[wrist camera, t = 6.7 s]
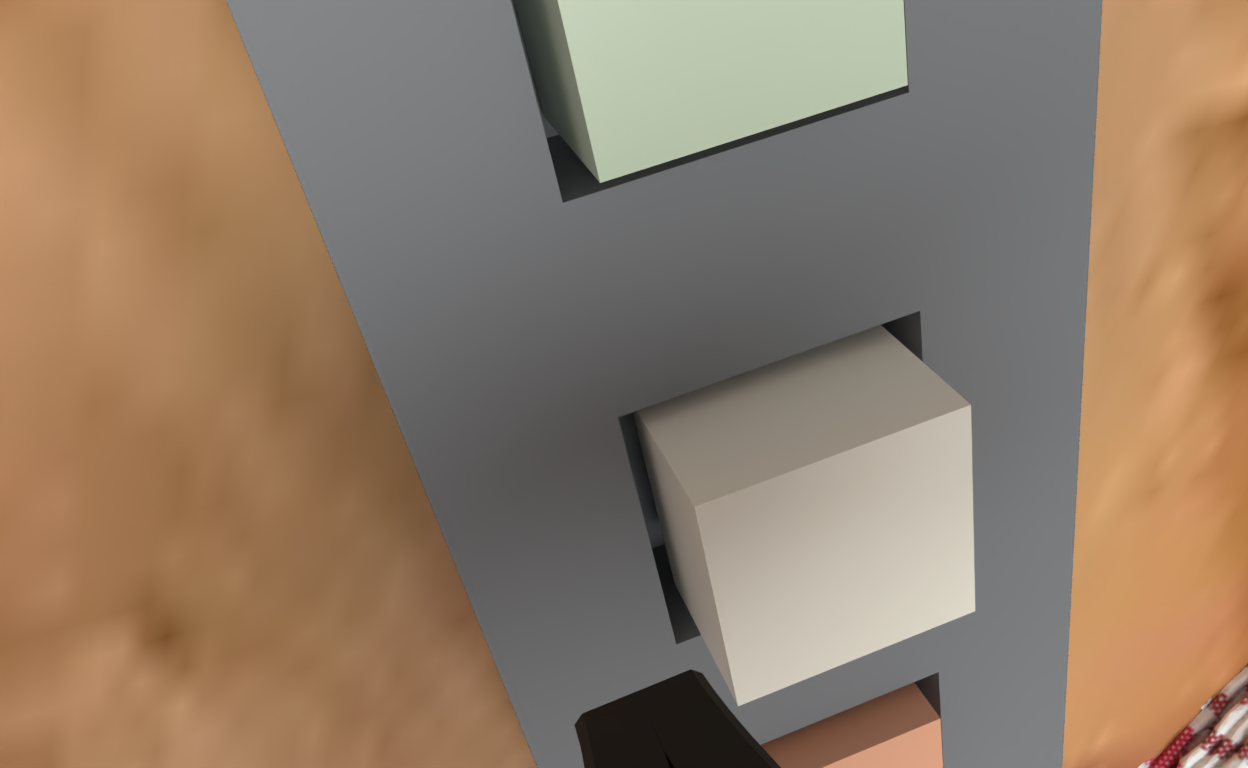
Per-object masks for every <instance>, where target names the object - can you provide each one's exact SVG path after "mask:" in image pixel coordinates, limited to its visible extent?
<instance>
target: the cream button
mask: <svg viewBox="0 0 1248 768" xmlns="http://www.w3.org/2000/svg"><path fill="white" fill-rule="evenodd" d="M633 416H634V421H635V425H636V429H637V433H638V437H639V441H640V445H641V449H642V453H643V457H644V461H645V465H646V469H647V473H648V477H649V481H650V485H651V490H652V494H653V498H654V502H655V506H656V510H657V514H658V518H659V522H660V526H661V530H662V534H663V538H664V542H665V546H666V550H667V554H668V559H669V563H670V567H671V571H672V575H673V579H674V583H675V585H676V587H677V589H678V591H679V593H680V595H681V597H682V599H683V601H684V603H685V604H686V606H687V608H688V610H689V612H690V614H691V616H692V618H693V620H694V622H695V624H696V626H697V628H698V630H699V632H700V634H701V635H702V637H703V639H704V641H705V643H706V645H707V647H708V649H709V651H710V653H711V655H712V657H713V659H714V661H715V663H716V665H717V666H718V668H719V670H720V672H721V674H722V676H723V678H724V680H725V682H726V684H727V686H728V688H729V690H730V692H731V694H732V696H733V697H734V699H735V701H736V703H737V705H738V706H740V705H743V704H745V703H748V702H750V701H753V700H755V699H758V698H760V697H763V696H765V695H768V694H770V693H773V692H775V691H778V690H780V689H783V688H785V687H788V686H790V685H793V684H795V683H798V682H800V681H803V680H805V679H808V678H810V677H813V676H815V675H818V674H820V673H823V672H825V671H828V670H830V669H833V668H835V667H837V666H840V665H842V664H845V663H847V662H850V661H852V660H855V659H857V658H860V657H862V656H865V655H867V654H870V653H872V652H875V651H877V650H880V649H882V648H885V647H887V646H890V645H892V644H895V643H897V642H900V641H902V640H905V639H907V638H910V637H912V636H915V635H917V634H920V633H922V632H925V631H927V630H930V629H932V628H935V627H937V626H940V625H942V624H945V623H947V622H950V621H952V620H955V619H957V618H960V617H962V616H965V615H967V614H969V613H972V612H974V611H975V570H974V521H973V473H972V424H971V404H970V403H969V402H967V401H966V400H965V399H964V398H963V397H962V396H961V395H960V394H958V393H957V392H956V391H955V390H954V389H953V388H952V387H950V386H949V385H948V384H947V383H946V382H945V381H944V380H943V379H941V378H940V377H939V376H938V375H937V374H936V373H935V372H933V371H932V370H931V369H930V368H929V367H928V366H927V365H926V364H924V363H923V362H922V361H921V360H920V359H919V358H918V357H916V356H915V355H914V354H913V353H912V352H911V351H910V350H909V349H907V348H906V347H905V346H904V345H903V344H902V343H901V342H900V341H898V340H897V339H896V338H895V337H894V336H893V335H892V334H890V333H889V332H888V331H887V330H886V329H885V328H884V327H883V326H881V325H878V326H876V327H873V328H870V329H867V330H864V331H861V332H859V333H856V334H853V335H850V336H847V337H844V338H842V339H839V340H836V341H833V342H830V343H827V344H825V345H822V346H819V347H816V348H813V349H810V350H808V351H805V352H802V353H799V354H796V355H793V356H791V357H788V358H785V359H782V360H779V361H776V362H774V363H771V364H768V365H765V366H762V367H759V368H757V369H754V370H751V371H748V372H745V373H742V374H740V375H737V376H734V377H731V378H728V379H725V380H723V381H720V382H717V383H714V384H711V385H708V386H706V387H703V388H700V389H697V390H694V391H691V392H689V393H686V394H683V395H680V396H677V397H674V398H672V399H669V400H666V401H663V402H660V403H657V404H655V405H652V406H649V407H646V408H643V409H640V410H638V411H635V412H633Z"/></svg>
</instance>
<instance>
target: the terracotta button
mask: <svg viewBox="0 0 1248 768" xmlns="http://www.w3.org/2000/svg"><path fill="white" fill-rule="evenodd" d="M761 746H762V747H763V749H764V750H765V751H766V752H767V753H768V754H769V755H770V756H771V757H772V758H773V759H774V761H775V762H776V763H777V764H778V765H779V766H780V767H781V768H943V757H942V738H941V719H940V717H939V716H938V714H937V713H936V712H935V710H934V709H933V707H932V706H931V705H930V703H929V702H928V700H927V699H926V698H925V696H924V695H923V694H922V692H921V691H920V689H919V688H918V687H917V685H916V684H915V683H914V682H913V683H911V684H908V685H906V686H903V687H901V688H898V689H896V690H894V691H891V692H889V693H886V694H884V695H881V696H879V697H876V698H874V699H872V700H869V701H867V702H864V703H862V704H859V705H857V706H854V707H852V708H850V709H847V710H845V711H842V712H840V713H837V714H835V715H832V716H830V717H827V718H825V719H823V720H820V721H818V722H815V723H813V724H810V725H808V726H805V727H803V728H801V729H798V730H796V731H793V732H791V733H788V734H786V735H783V736H781V737H779V738H776V739H774V740H771V741H769V742H766V743H764V744H761Z"/></svg>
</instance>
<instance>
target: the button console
mask: <svg viewBox="0 0 1248 768" xmlns="http://www.w3.org/2000/svg"><path fill="white" fill-rule="evenodd" d="M226 1H227V4H228V6H229V9H230V11H231V14H232V16H233V19H234V21H235V24H236V26H237V29H238V31H239V34H240V36H241V38H242V41H243V43H244V46H245V48H246V51H247V53H248V56H249V58H250V61H251V63H252V66H253V68H254V70H255V73H256V75H257V78H258V80H259V83H260V85H261V88H262V90H263V93H264V95H265V98H266V100H267V103H268V105H269V107H270V110H271V112H272V115H273V117H274V120H275V122H276V125H277V127H278V130H279V132H280V135H281V137H282V139H283V142H284V144H285V147H286V149H287V152H288V154H289V157H290V159H291V162H292V164H293V167H294V169H295V172H296V174H297V176H298V179H299V181H300V184H301V186H302V189H303V191H304V194H305V196H306V199H307V201H308V204H309V206H310V208H311V211H312V213H313V216H314V218H315V221H316V223H317V226H318V228H319V231H320V233H321V236H322V238H323V241H324V243H325V245H326V248H327V250H328V253H329V255H330V258H331V260H332V263H333V265H334V268H335V270H336V273H337V275H338V277H339V280H340V282H341V285H342V287H343V290H344V292H345V295H346V297H347V300H348V302H349V305H350V307H351V310H352V312H353V314H354V317H355V319H356V322H357V324H358V327H359V329H360V332H361V334H362V337H363V339H364V342H365V344H366V346H367V349H368V351H369V354H370V356H371V359H372V361H373V364H374V366H375V369H376V371H377V374H378V376H379V379H380V381H381V383H382V386H383V388H384V391H385V393H386V396H387V398H388V401H389V403H390V406H391V408H392V411H393V413H394V415H395V418H396V420H397V423H398V425H399V428H400V430H401V433H402V435H403V438H404V440H405V443H406V445H407V448H408V450H409V452H410V455H411V457H412V460H413V462H414V465H415V467H416V470H417V472H418V475H419V477H420V480H421V482H422V484H423V487H424V489H425V492H426V494H427V497H428V499H429V502H430V504H431V507H432V509H433V512H434V514H435V517H436V519H437V521H438V524H439V526H440V529H441V531H442V534H443V536H444V539H445V541H446V544H447V546H448V549H449V551H450V553H451V556H452V558H453V561H454V563H455V566H456V568H457V571H458V573H459V576H460V578H461V581H462V583H463V586H464V588H465V590H466V593H467V595H468V598H469V600H470V603H471V605H472V608H473V610H474V613H475V615H476V618H477V620H478V622H479V625H480V627H481V630H482V632H483V635H484V637H485V640H486V642H487V645H488V647H489V650H490V652H491V655H492V657H493V659H494V662H495V664H496V667H497V669H498V672H499V674H500V677H501V679H502V682H503V684H504V687H505V689H506V691H507V694H508V696H509V699H510V701H511V704H512V706H513V709H514V711H515V714H516V716H517V719H518V721H519V724H520V726H521V728H522V731H523V733H524V736H525V738H526V741H527V743H528V746H529V748H530V751H531V753H532V756H533V758H534V760H535V763H536V765H537V768H584V762H583V757H582V752H581V747H580V743H579V740H578V736H577V732H576V729H575V723H576V722H577V720H578V719H579V717H580V716H581V714H582V713H585V712H587V711H590V710H592V709H594V708H597V707H599V706H602V705H604V704H607V703H609V702H612V701H614V700H617V699H619V698H622V697H624V696H626V695H629V694H631V693H634V692H636V691H639V690H641V689H644V688H646V687H649V686H651V685H653V684H656V683H658V682H661V681H663V680H666V679H668V678H671V677H673V676H676V675H678V674H680V673H683V672H685V671H688V670H690V669H692V670H695V671H698V672H701V673H703V675H704V676H705V678H706V679H707V681H708V682H709V683H710V685H711V686H712V688H713V689H714V690H715V692H716V693H717V694H718V695H719V697H720V698H721V699H722V701H723V702H724V703H725V704H726V706H727V707H728V708H729V709H730V711H731V712H732V713H733V714H734V716H735V717H736V718H737V719H738V720H739V722H740V723H741V724H742V725H743V726H744V727H745V728H746V730H747V731H748V732H749V733H750V734H751V735H752V737H753V738H754V739H755V740H756V741H757V742H758V743H759V744H760V745H761V744H764V743H766V742H769V741H771V740H774V739H776V738H779V737H781V736H783V735H786V734H788V733H791V732H793V731H796V730H798V729H801V728H803V727H805V726H808V725H810V724H813V723H815V722H818V721H820V720H823V719H825V718H827V717H830V716H832V715H835V714H837V713H840V712H842V711H845V710H847V709H850V708H852V707H854V706H857V705H859V704H862V703H864V702H867V701H869V700H872V699H874V698H876V697H879V696H881V695H884V694H886V693H889V692H891V691H894V690H896V689H898V688H901V687H903V686H906V685H908V684H911V683H913V682H914V683H915V684H916V685H917V687H918V688H919V689H920V691H921V692H922V694H923V695H924V696H925V698H926V699H927V700H928V702H929V703H930V705H931V706H932V707H933V709H934V710H935V712H936V713H937V714H938V716H939V717H940V719H941V738H942V757H943V768H1062V761H1063V742H1064V723H1065V704H1066V685H1067V665H1068V646H1069V627H1070V608H1071V589H1072V570H1073V551H1074V532H1075V513H1076V494H1077V474H1078V455H1079V436H1080V417H1081V398H1082V379H1083V360H1084V341H1085V322H1086V303H1087V283H1088V264H1089V245H1090V226H1091V207H1092V188H1093V169H1094V150H1095V131H1096V111H1097V92H1098V73H1099V54H1100V35H1101V16H1102V0H903V1H904V20H905V39H906V59H907V78H908V85H907V86H903V87H900V88H897V89H894V90H891V91H888V92H885V93H881V94H878V95H875V96H872V97H869V98H866V99H863V100H859V101H856V102H853V103H850V104H847V105H844V106H841V107H837V108H834V109H831V110H828V111H825V112H822V113H819V114H815V115H812V116H809V117H806V118H803V119H800V120H797V121H793V122H790V123H787V124H784V125H781V126H778V127H775V128H771V129H768V130H765V131H762V132H759V133H756V134H753V135H750V136H746V137H743V138H740V139H737V140H734V141H731V142H728V143H724V144H721V145H718V146H715V147H712V148H709V149H706V150H702V151H699V152H696V153H693V154H690V155H687V156H684V157H680V158H677V159H674V160H671V161H668V162H665V163H662V164H658V165H655V166H652V167H649V168H646V169H643V170H640V171H636V172H633V173H630V174H627V175H624V176H621V177H618V178H614V179H611V180H608V181H605V182H602V183H600V182H599V181H598V180H597V179H596V178H595V176H594V175H593V174H592V173H591V172H590V170H589V169H588V168H587V167H586V166H585V164H584V163H583V162H582V161H581V160H580V158H579V157H578V156H577V155H576V154H575V152H574V151H573V150H572V149H571V148H570V147H569V145H568V144H567V143H566V142H565V141H564V139H563V138H562V137H561V136H560V135H559V133H558V132H557V131H556V130H555V129H554V127H553V126H552V125H551V124H550V123H549V121H548V120H547V119H546V118H545V117H544V114H543V110H542V106H541V102H540V98H539V94H538V90H537V86H536V83H535V79H534V75H533V71H532V67H531V63H530V59H529V55H528V51H527V47H526V43H525V39H524V35H523V32H522V28H521V24H520V20H519V16H518V12H517V8H516V4H515V0H226ZM878 325H881V326H883V327H884V328H885V329H886V330H887V331H888V332H889V333H890V334H892V335H893V336H894V337H895V338H896V339H897V340H898V341H900V342H901V343H902V344H903V345H904V346H905V347H906V348H907V349H909V350H910V351H911V352H912V353H913V354H914V355H915V356H916V357H918V358H919V359H920V360H921V361H922V362H923V363H924V364H926V365H927V366H928V367H929V368H930V369H931V370H932V371H933V372H935V373H936V374H937V375H938V376H939V377H940V378H941V379H943V380H944V381H945V382H946V383H947V384H948V385H949V386H950V387H952V388H953V389H954V390H955V391H956V392H957V393H958V394H960V395H961V396H962V397H963V398H964V399H965V400H966V401H967V402H969V403H970V404H971V424H972V473H973V521H974V570H975V611H974V612H972V613H969V614H967V615H965V616H962V617H960V618H957V619H955V620H952V621H950V622H947V623H945V624H942V625H940V626H937V627H935V628H932V629H930V630H927V631H925V632H922V633H920V634H917V635H915V636H912V637H910V638H907V639H905V640H902V641H900V642H897V643H895V644H892V645H890V646H887V647H885V648H882V649H880V650H877V651H875V652H872V653H870V654H867V655H865V656H862V657H860V658H857V659H855V660H852V661H850V662H847V663H845V664H842V665H840V666H837V667H835V668H833V669H830V670H828V671H825V672H823V673H820V674H818V675H815V676H813V677H810V678H808V679H805V680H803V681H800V682H798V683H795V684H793V685H790V686H788V687H785V688H783V689H780V690H778V691H775V692H773V693H770V694H768V695H765V696H763V697H760V698H758V699H755V700H753V701H750V702H748V703H745V704H743V705H740V706H738V705H737V703H736V701H735V699H734V697H733V696H732V694H731V692H730V690H729V688H728V686H727V684H726V682H725V680H724V678H723V676H722V674H721V672H720V670H719V668H718V666H717V665H716V663H715V661H714V659H713V657H712V655H711V653H710V651H709V649H708V647H707V645H706V643H705V641H704V639H703V637H702V635H701V634H700V632H699V630H698V628H697V626H696V624H695V622H694V620H693V618H692V616H691V614H690V612H689V610H688V608H687V606H686V604H685V603H684V601H683V599H682V597H681V595H680V593H679V591H678V589H677V587H676V585H675V583H674V579H673V575H672V571H671V567H670V563H669V559H668V554H667V550H666V546H665V542H664V538H663V534H662V530H661V526H660V522H659V518H658V514H657V510H656V506H655V502H654V498H653V494H652V490H651V485H650V481H649V477H648V473H647V469H646V465H645V461H644V457H643V453H642V449H641V445H640V441H639V437H638V433H637V429H636V425H635V421H634V416H633V412H635V411H638V410H640V409H643V408H646V407H649V406H652V405H655V404H657V403H660V402H663V401H666V400H669V399H672V398H674V397H677V396H680V395H683V394H686V393H689V392H691V391H694V390H697V389H700V388H703V387H706V386H708V385H711V384H714V383H717V382H720V381H723V380H725V379H728V378H731V377H734V376H737V375H740V374H742V373H745V372H748V371H751V370H754V369H757V368H759V367H762V366H765V365H768V364H771V363H774V362H776V361H779V360H782V359H785V358H788V357H791V356H793V355H796V354H799V353H802V352H805V351H808V350H810V349H813V348H816V347H819V346H822V345H825V344H827V343H830V342H833V341H836V340H839V339H842V338H844V337H847V336H850V335H853V334H856V333H859V332H861V331H864V330H867V329H870V328H873V327H876V326H878Z"/></svg>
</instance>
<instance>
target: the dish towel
mask: <svg viewBox="0 0 1248 768" xmlns="http://www.w3.org/2000/svg"><path fill="white" fill-rule="evenodd" d="M1211 700H1212V698H1211V699H1210V700H1209V701H1208V702H1207V704H1205V705H1203V706H1202V707H1201V709H1202V711H1201V712H1200V713H1199V714H1198V715H1197V716H1196V718H1195V719H1194V720H1193V721H1192V722H1191V723H1190V724H1189V725H1188V726H1187V727H1186V728H1185V729H1184V730H1183V731H1182V732H1181V733H1180V735H1179V736H1178V737H1177V738H1176V739H1175V740H1174V741H1173V742H1172V743H1171V744H1170V745H1169V746H1168V747H1167V748H1166V749H1165V750H1164V751H1163V752H1162V753H1161V754H1160V755H1159V756H1158V757H1157V758H1156V759H1154V758H1152V759H1151V760H1149V761H1148V762H1145V763H1143V764H1141V765H1140V766H1139V767H1138V768H1248V666H1246V667H1245V668H1244V669H1243V670H1242V671H1241V672H1240V673H1239V674H1238V675H1237V676H1236V677H1235V678H1234V679H1233V680H1231V681H1230V682H1229V683H1228V684H1227V685H1226V686H1225V687H1224V688H1223V689H1222V690H1221V692H1220V693H1219V694H1218V695H1217V696H1216V698H1215V699H1214V700H1213V701H1212V702H1211V703H1210V704H1209V705H1208V703H1209V702H1210V701H1211ZM1207 705H1208V706H1207Z"/></svg>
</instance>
